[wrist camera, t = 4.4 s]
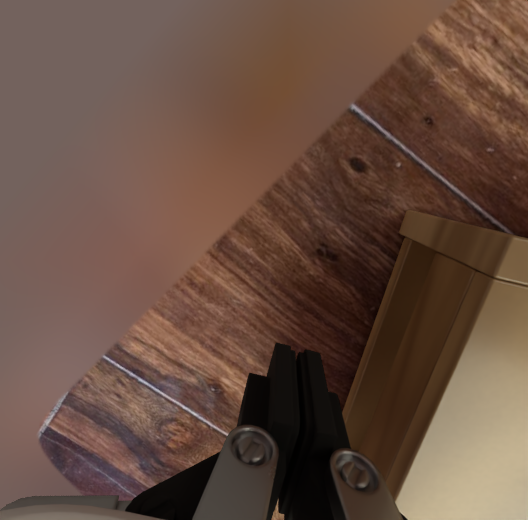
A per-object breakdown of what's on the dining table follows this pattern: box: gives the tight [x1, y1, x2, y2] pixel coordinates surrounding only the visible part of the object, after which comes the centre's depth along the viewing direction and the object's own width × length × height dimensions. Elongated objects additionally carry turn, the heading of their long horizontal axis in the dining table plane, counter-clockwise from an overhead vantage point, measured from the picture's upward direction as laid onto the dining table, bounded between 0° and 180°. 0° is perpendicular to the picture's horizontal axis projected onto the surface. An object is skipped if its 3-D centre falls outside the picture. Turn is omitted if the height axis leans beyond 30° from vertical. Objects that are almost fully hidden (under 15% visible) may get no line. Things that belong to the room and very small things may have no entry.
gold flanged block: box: [342, 210, 528, 520], centre depth 13 cm, size 10×14×7 cm
